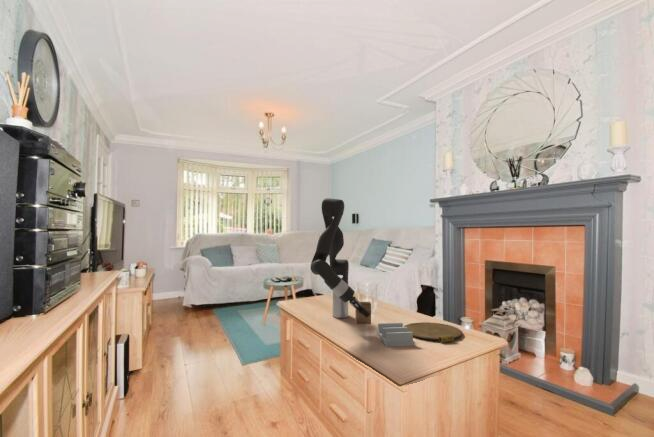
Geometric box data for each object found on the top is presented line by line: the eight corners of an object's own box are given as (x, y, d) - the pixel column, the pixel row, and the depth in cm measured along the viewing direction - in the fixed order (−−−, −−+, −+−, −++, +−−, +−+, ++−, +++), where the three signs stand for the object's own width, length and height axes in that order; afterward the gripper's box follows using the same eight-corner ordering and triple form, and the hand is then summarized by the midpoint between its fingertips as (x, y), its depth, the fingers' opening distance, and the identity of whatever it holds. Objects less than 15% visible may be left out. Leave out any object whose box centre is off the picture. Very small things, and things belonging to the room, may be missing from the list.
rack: (376, 334, 154) (376, 322, 154) (402, 333, 155) (402, 322, 155) (386, 346, 138) (386, 334, 138) (414, 345, 139) (414, 333, 139)
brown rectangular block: (355, 322, 155) (355, 301, 155) (369, 321, 156) (369, 301, 156) (356, 324, 152) (356, 303, 151) (371, 324, 152) (371, 303, 152)
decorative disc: (439, 318, 175) (478, 333, 146) (439, 324, 175) (478, 340, 146) (392, 322, 167) (424, 339, 138) (392, 328, 167) (424, 347, 138)
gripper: (350, 288, 146) (376, 313, 147) (346, 282, 160) (369, 305, 161) (339, 299, 145) (365, 325, 146) (335, 292, 159) (359, 315, 161)
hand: (367, 314), depth 154 cm, fingers closed on brown rectangular block, 3 cm apart
